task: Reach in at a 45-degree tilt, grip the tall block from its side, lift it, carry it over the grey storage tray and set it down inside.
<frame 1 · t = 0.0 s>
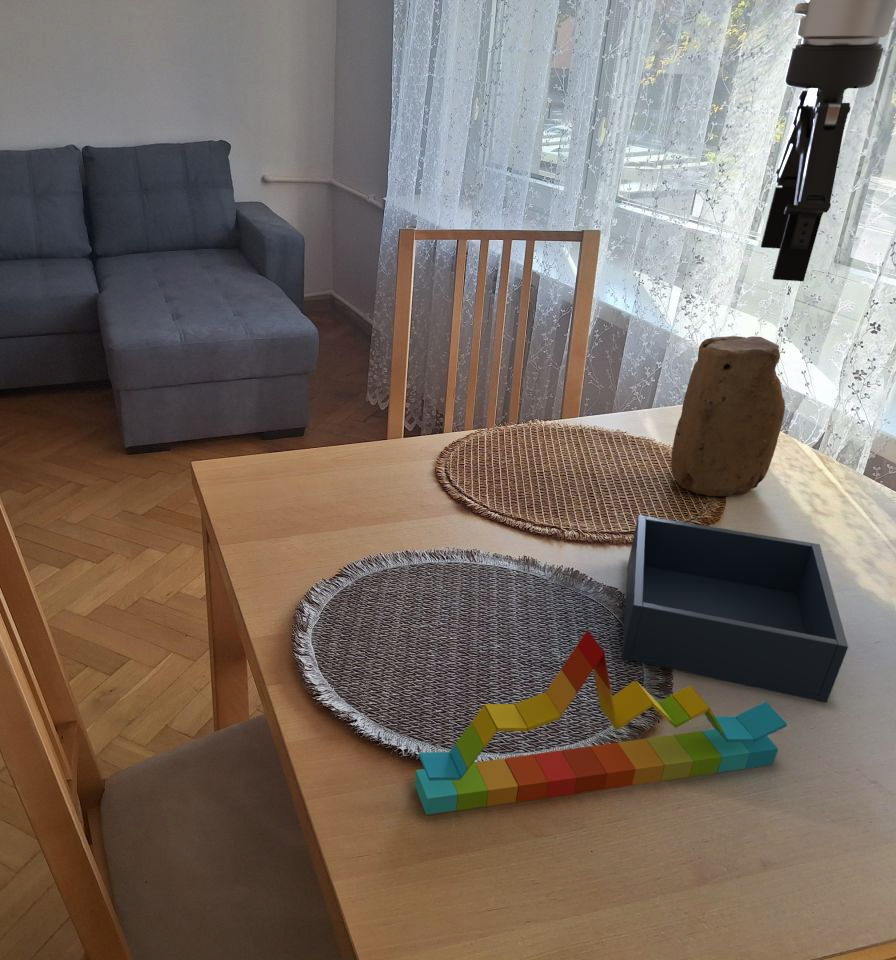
hand: (780, 263, 92), 32 cm above the table, tool pointing down, fingers open, 13 cm apart
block: (713, 486, 114), on the table
chart: (593, 776, 72), on the table
grey storage tray: (716, 625, 89), on the table
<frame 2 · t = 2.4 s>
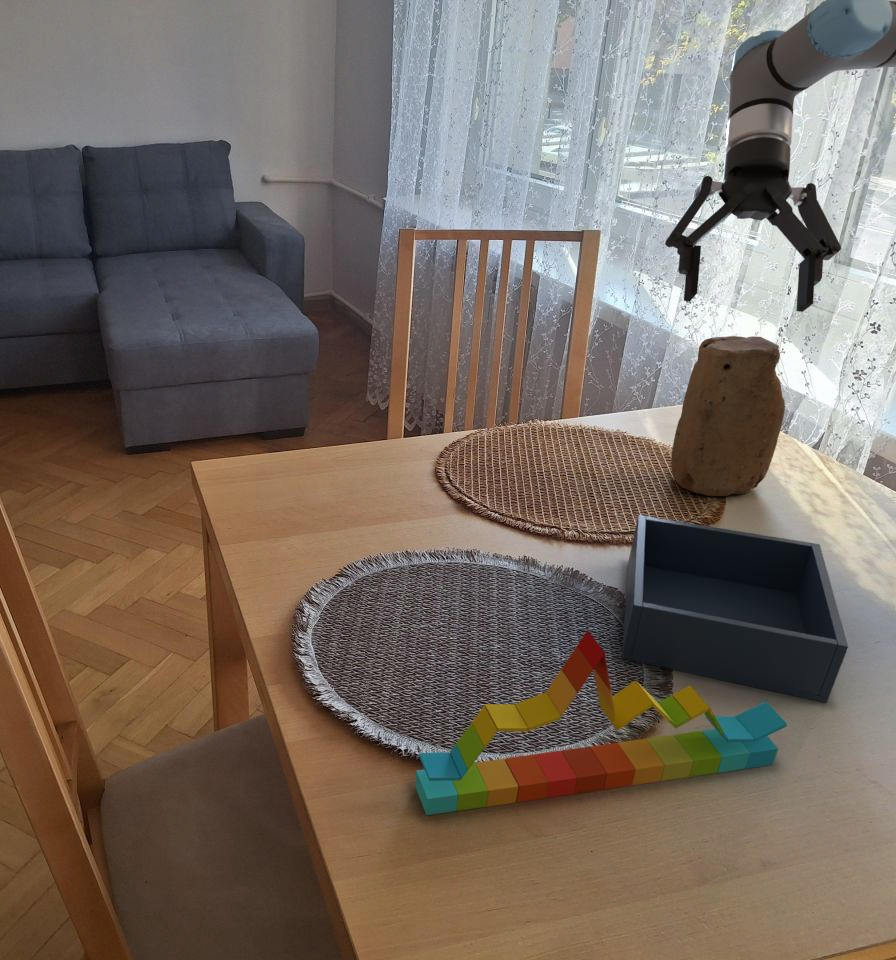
hand: (746, 302, 109), 23 cm above the table, tool tilted 40°, fingers open, 13 cm apart
nothing on the table moved.
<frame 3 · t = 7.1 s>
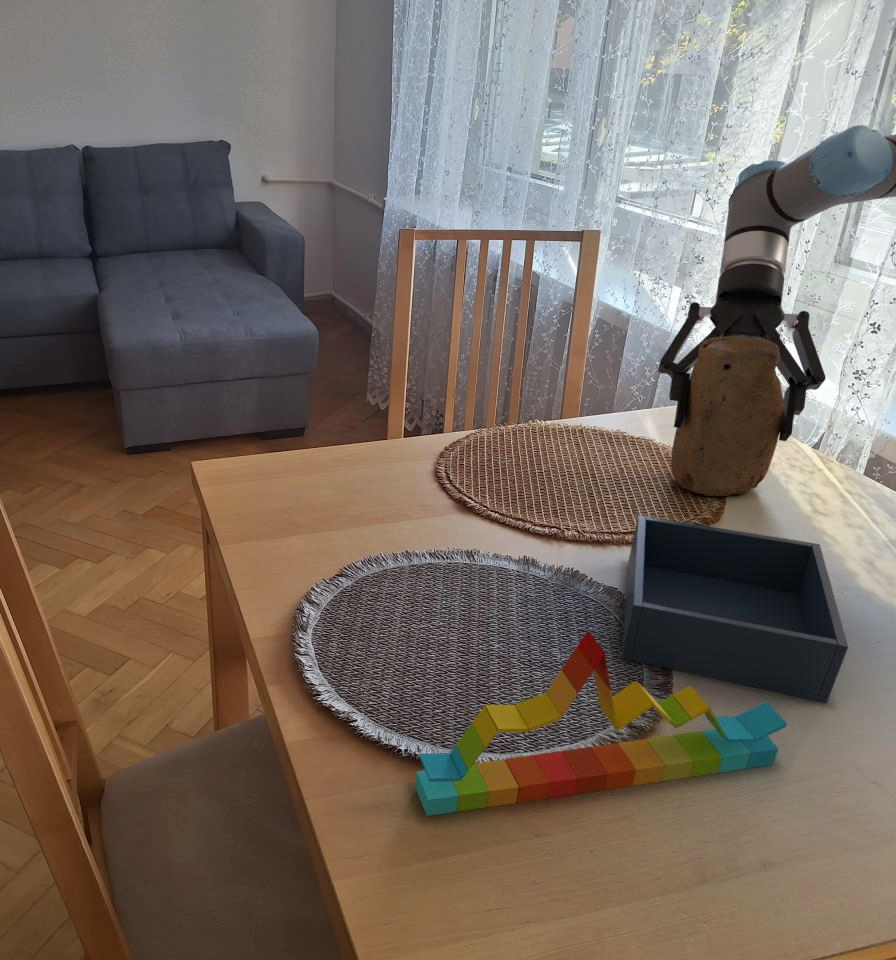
hand: (730, 430, 108), 9 cm above the table, tool tilted 45°, fingers closed on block, 11 cm apart
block: (713, 486, 114), on the table, touching gripper
everything else where it was.
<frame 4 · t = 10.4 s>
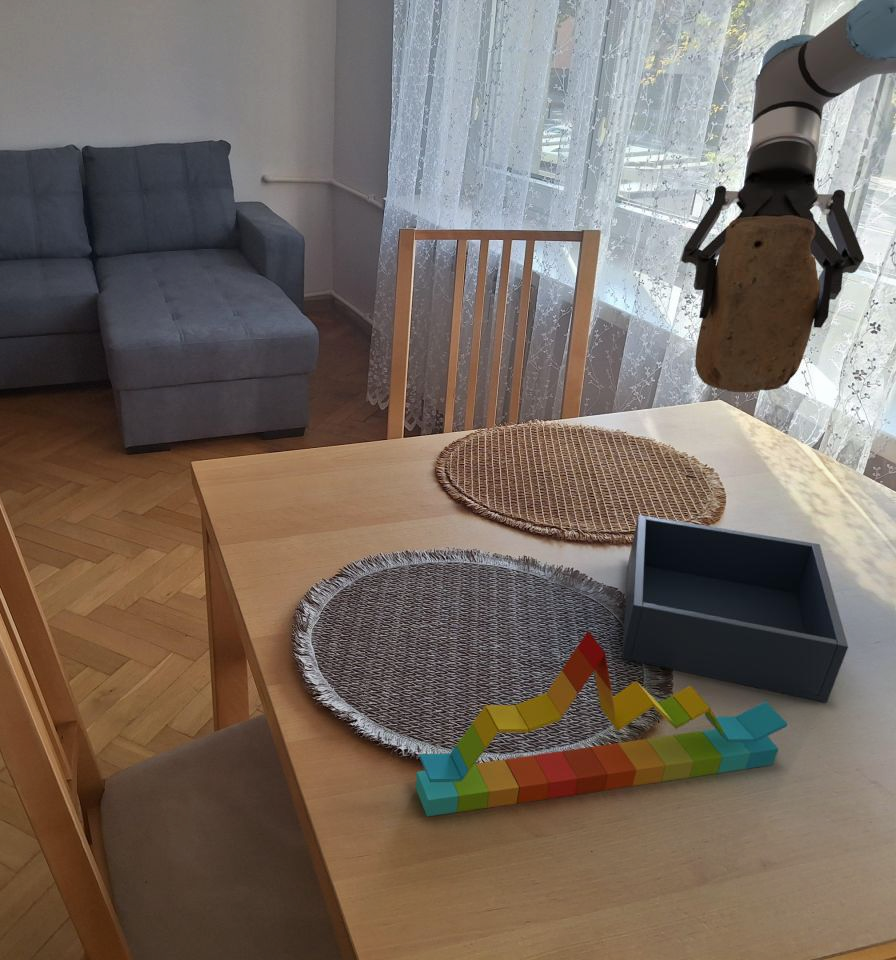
hand: (761, 317, 100), 24 cm above the table, tool tilted 45°, fingers closed on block, 11 cm apart
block: (740, 384, 107), point 15 cm above the table, touching gripper
everything else where it was.
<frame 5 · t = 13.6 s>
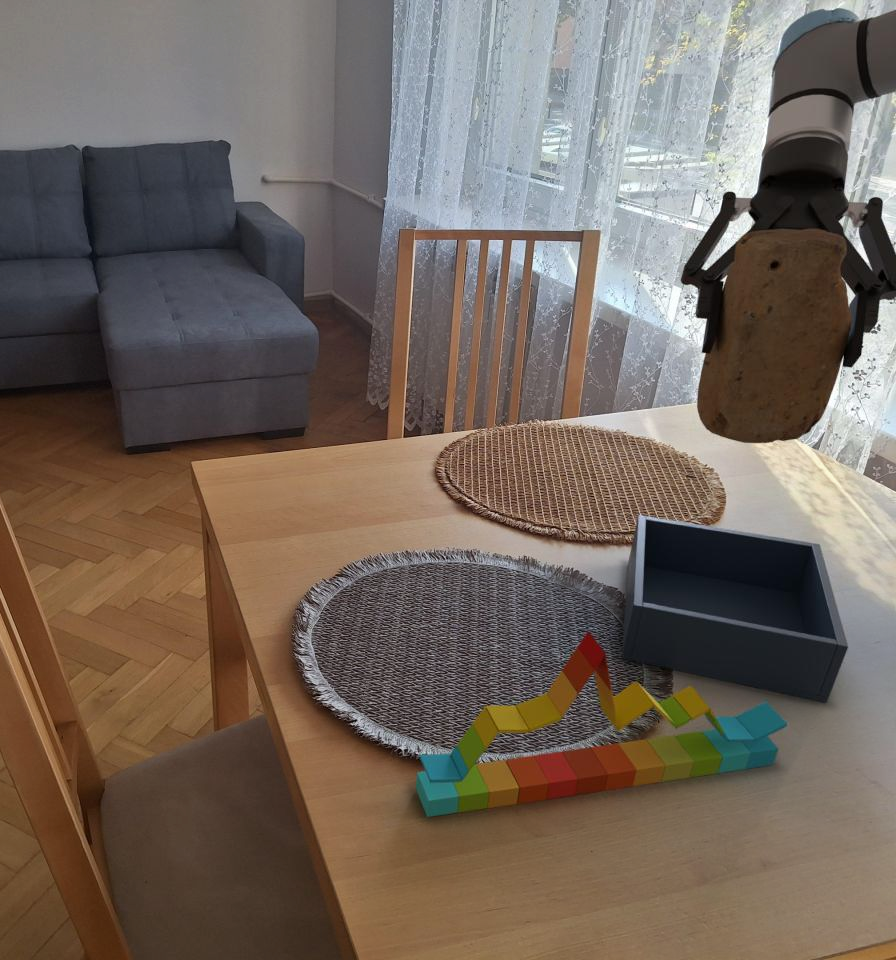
hand: (778, 354, 81), 27 cm above the table, tool tilted 45°, fingers closed on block, 11 cm apart
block: (751, 431, 88), point 18 cm above the table, touching gripper
everything else where it was.
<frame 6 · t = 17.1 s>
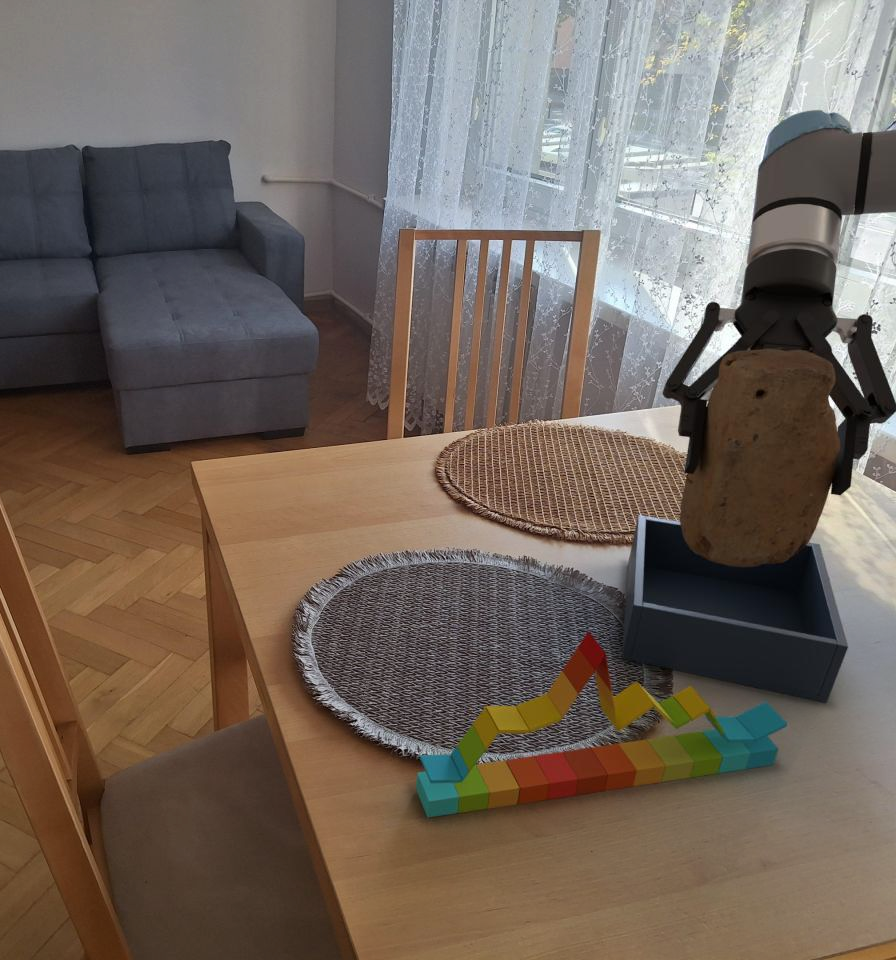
hand: (763, 479, 78), 19 cm above the table, tool tilted 45°, fingers closed on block, 11 cm apart
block: (736, 550, 84), point 9 cm above the table, touching gripper
everything else where it was.
when the fingers open (10 cm above the table, at t = 20.2 s): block stays where it is, resting on grey storage tray.
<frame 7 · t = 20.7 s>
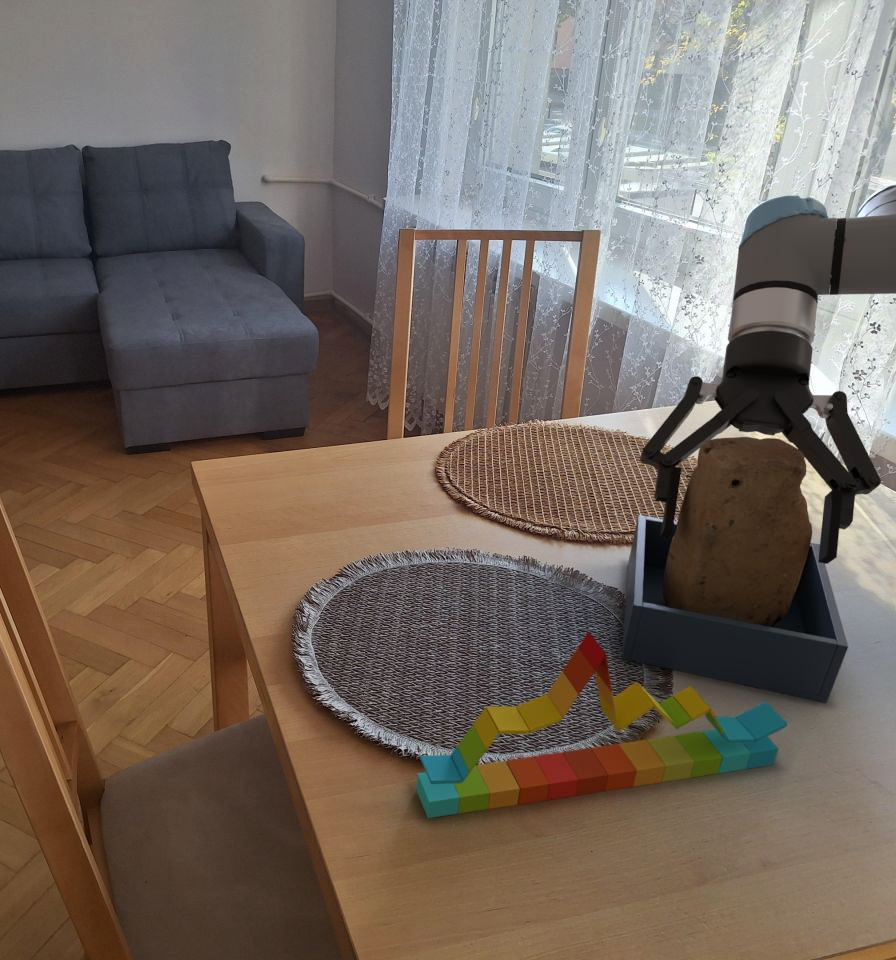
hand: (744, 546, 82), 11 cm above the table, tool tilted 45°, fingers open, 13 cm apart
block: (716, 621, 89), resting on grey storage tray
everything else where it was.
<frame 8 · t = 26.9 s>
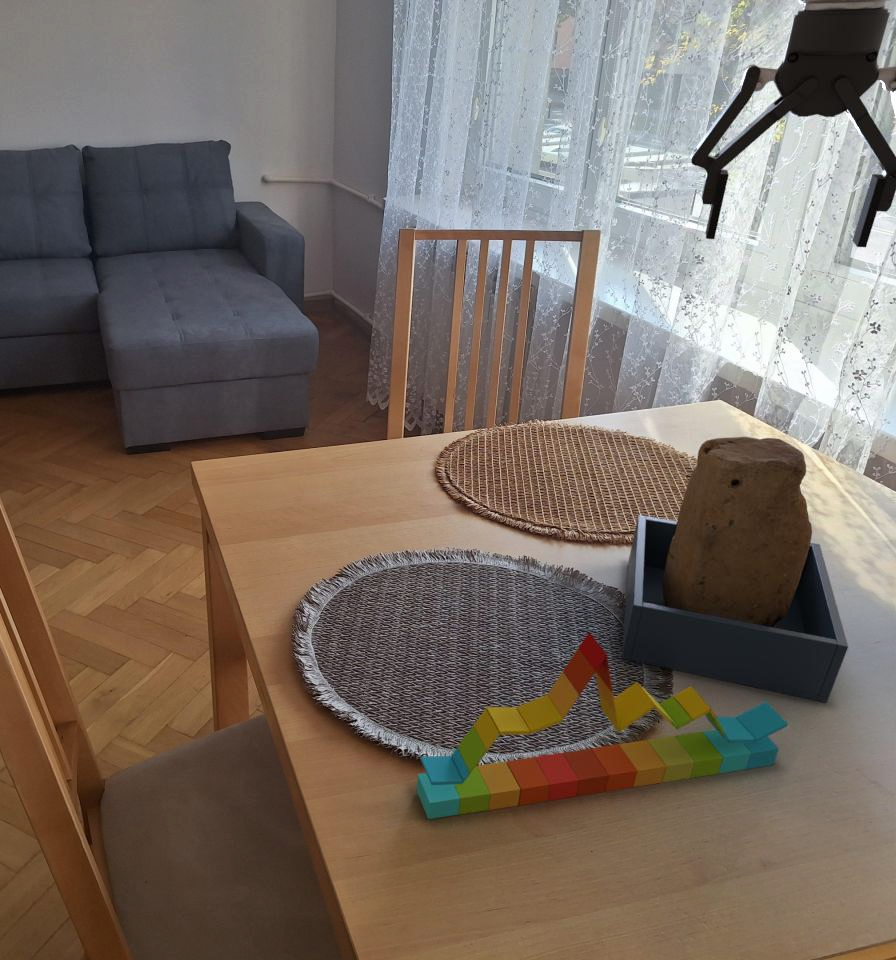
hand: (782, 240, 89), 35 cm above the table, tool pointing down, fingers open, 13 cm apart
nothing on the table moved.
at the end: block inside the target area in the grey storage tray (0.1 cm from its centre), point 0.4 cm above the grey storage tray's base; the gripper is holding nothing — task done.
